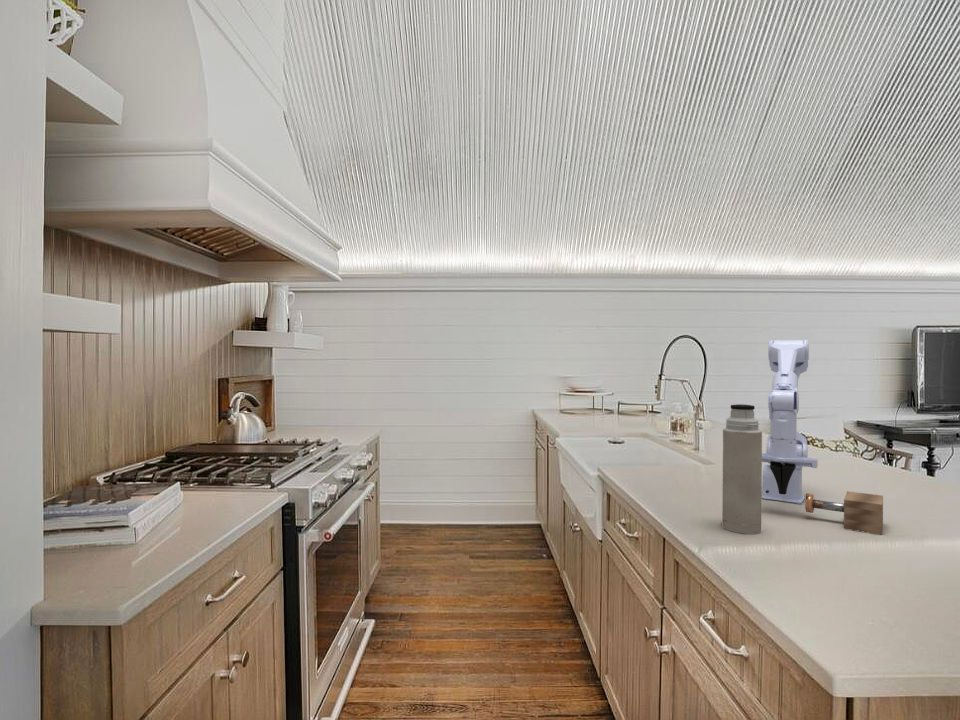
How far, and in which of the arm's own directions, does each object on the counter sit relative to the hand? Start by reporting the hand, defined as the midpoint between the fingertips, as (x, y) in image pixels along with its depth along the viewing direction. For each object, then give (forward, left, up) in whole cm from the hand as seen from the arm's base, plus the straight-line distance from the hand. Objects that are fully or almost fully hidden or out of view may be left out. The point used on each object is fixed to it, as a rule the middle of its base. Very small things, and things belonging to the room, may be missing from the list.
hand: (782, 493), depth 137 cm
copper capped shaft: (+11, 0, -4) cm, 11 cm away
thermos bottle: (-6, -19, -5) cm, 20 cm away
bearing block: (+16, 0, -5) cm, 17 cm away
